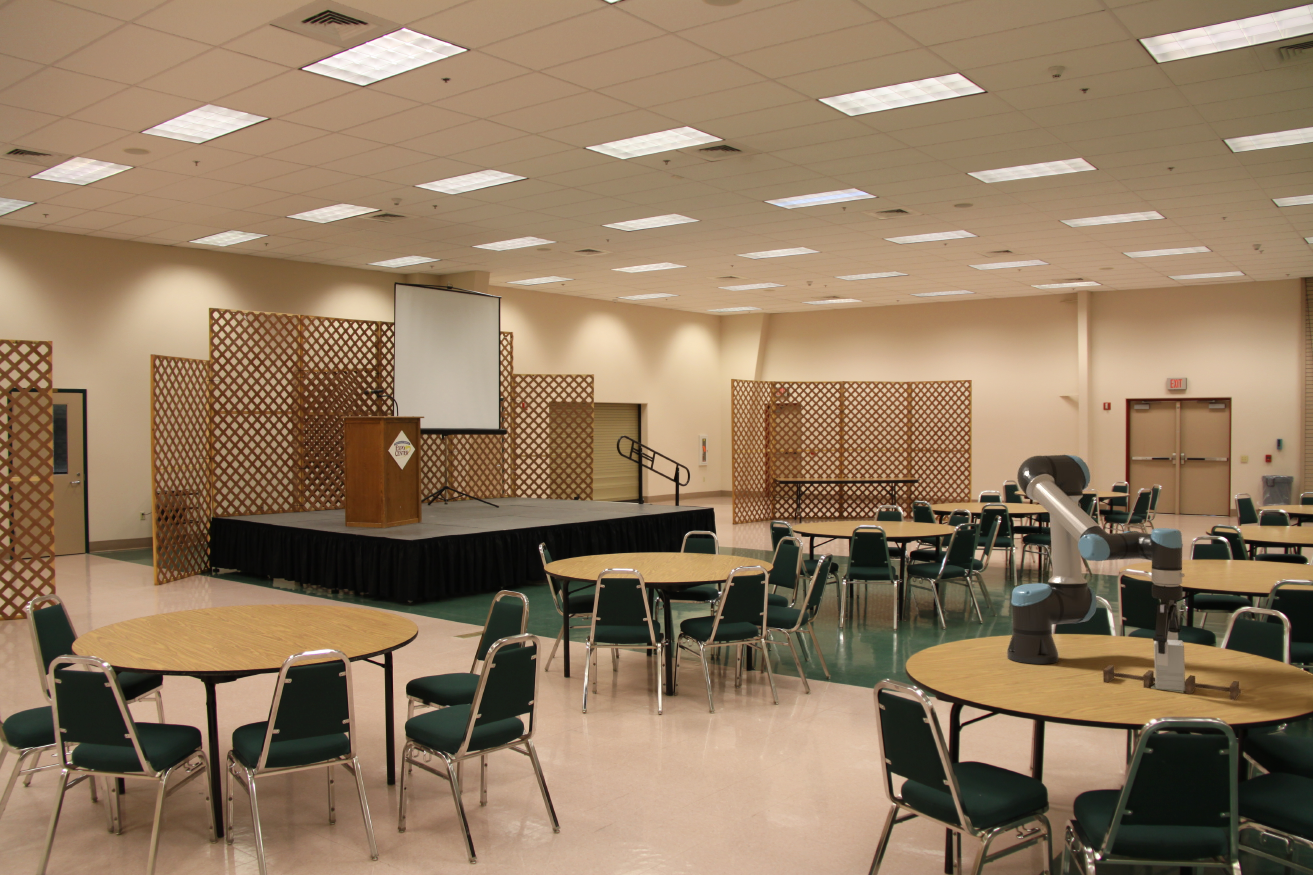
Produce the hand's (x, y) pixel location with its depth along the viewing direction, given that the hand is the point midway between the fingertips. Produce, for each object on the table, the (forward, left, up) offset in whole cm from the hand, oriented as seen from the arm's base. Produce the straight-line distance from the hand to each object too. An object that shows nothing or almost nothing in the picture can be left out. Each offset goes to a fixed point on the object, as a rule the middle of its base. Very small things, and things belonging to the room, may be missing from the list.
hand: (1167, 660), depth 260 cm
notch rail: (0, +1, -8) cm, 8 cm away
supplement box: (0, 0, -8) cm, 8 cm away
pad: (0, 0, -8) cm, 8 cm away
